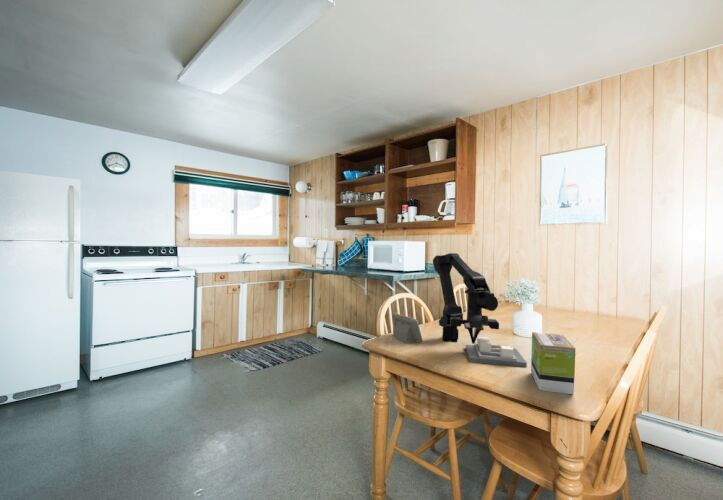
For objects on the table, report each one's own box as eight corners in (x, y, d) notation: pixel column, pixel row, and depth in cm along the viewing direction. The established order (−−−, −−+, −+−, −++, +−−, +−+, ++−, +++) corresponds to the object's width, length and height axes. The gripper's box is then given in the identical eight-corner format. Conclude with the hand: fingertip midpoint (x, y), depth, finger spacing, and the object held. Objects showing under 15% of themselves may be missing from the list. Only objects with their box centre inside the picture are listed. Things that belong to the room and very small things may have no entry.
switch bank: (469, 361, 132) (470, 355, 131) (465, 348, 147) (465, 342, 147) (526, 366, 128) (526, 360, 128) (516, 352, 143) (516, 346, 143)
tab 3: (501, 359, 130) (502, 348, 130) (499, 355, 134) (500, 345, 134) (513, 360, 130) (513, 349, 130) (510, 356, 133) (511, 346, 133)
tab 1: (478, 349, 142) (478, 339, 141) (477, 346, 145) (477, 336, 145) (488, 349, 141) (489, 340, 141) (487, 347, 144) (487, 337, 144)
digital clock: (423, 343, 153) (424, 319, 153) (406, 345, 150) (406, 320, 149) (404, 333, 168) (405, 311, 168) (388, 334, 164) (388, 312, 164)
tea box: (529, 372, 123) (531, 330, 122) (561, 376, 120) (563, 333, 119) (538, 390, 108) (540, 343, 108) (574, 395, 105) (577, 347, 105)
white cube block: (480, 353, 137) (480, 343, 137) (478, 350, 140) (479, 340, 140) (490, 354, 136) (491, 343, 136) (489, 351, 139) (489, 341, 139)
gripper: (452, 308, 137) (450, 347, 138) (502, 311, 133) (500, 351, 134) (450, 302, 148) (449, 339, 148) (497, 305, 144) (495, 343, 145)
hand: (473, 343), depth 144 cm, fingers closed
